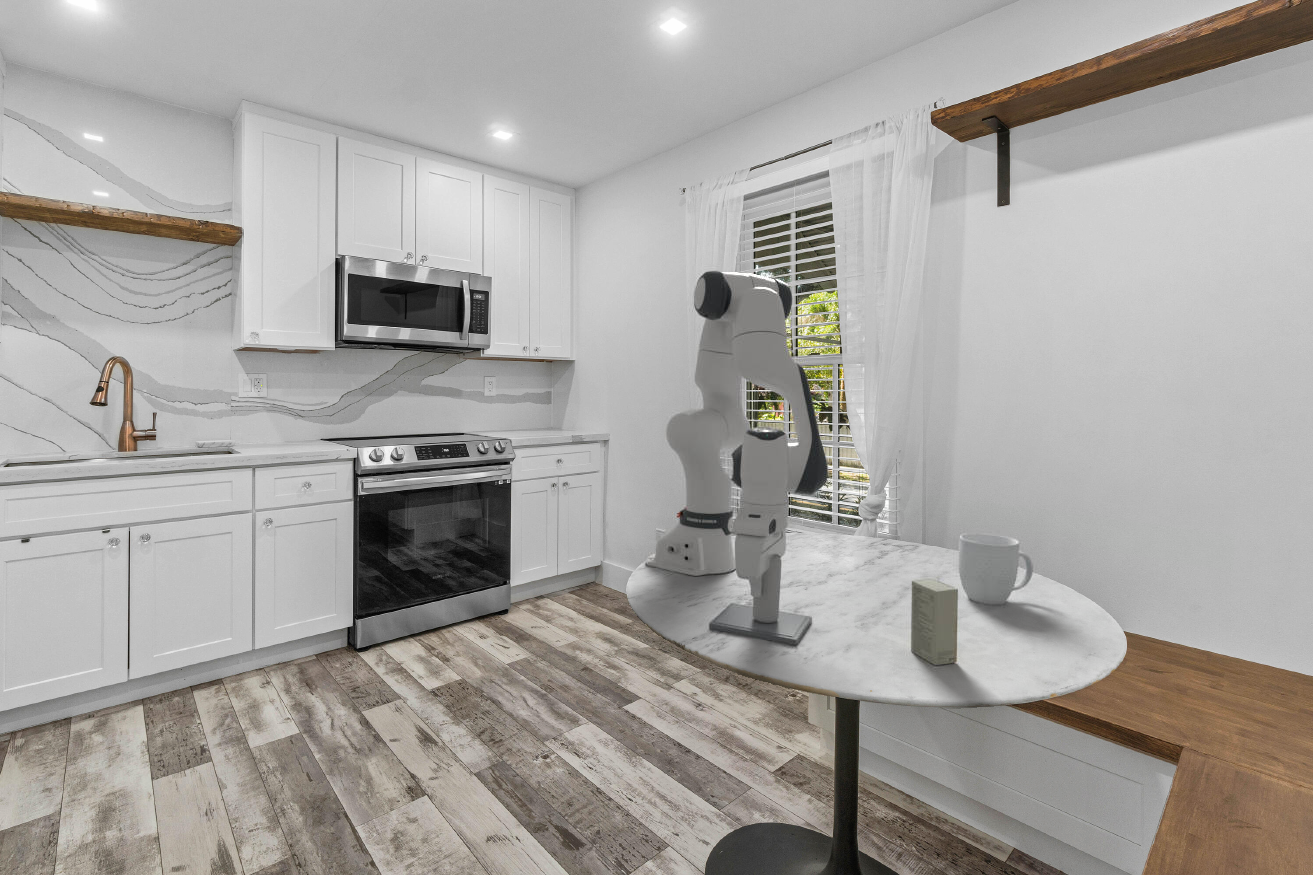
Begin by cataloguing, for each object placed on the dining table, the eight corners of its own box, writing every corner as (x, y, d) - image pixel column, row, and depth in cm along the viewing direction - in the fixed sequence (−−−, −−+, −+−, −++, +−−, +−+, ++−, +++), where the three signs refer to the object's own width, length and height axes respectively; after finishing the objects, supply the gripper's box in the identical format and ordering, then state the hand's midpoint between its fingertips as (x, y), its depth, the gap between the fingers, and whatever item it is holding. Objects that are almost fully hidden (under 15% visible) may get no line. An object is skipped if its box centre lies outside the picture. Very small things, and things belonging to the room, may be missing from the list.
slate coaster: (709, 628, 111) (709, 622, 111) (731, 607, 122) (731, 602, 122) (796, 645, 104) (796, 639, 104) (811, 621, 115) (811, 616, 115)
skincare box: (957, 663, 98) (960, 589, 97) (933, 666, 97) (937, 591, 96) (930, 647, 104) (933, 577, 103) (908, 650, 103) (910, 579, 102)
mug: (1013, 591, 134) (1016, 532, 133) (1047, 609, 123) (1050, 545, 122) (946, 591, 133) (949, 532, 132) (974, 609, 123) (977, 545, 122)
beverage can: (763, 625, 110) (766, 560, 109) (746, 616, 114) (749, 553, 113) (783, 621, 112) (787, 557, 111) (766, 613, 116) (770, 551, 116)
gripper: (763, 505, 122) (762, 573, 123) (728, 525, 104) (727, 604, 105) (794, 508, 120) (793, 577, 121) (764, 529, 101) (763, 610, 102)
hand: (762, 590), depth 113 cm, fingers open, 5 cm apart
